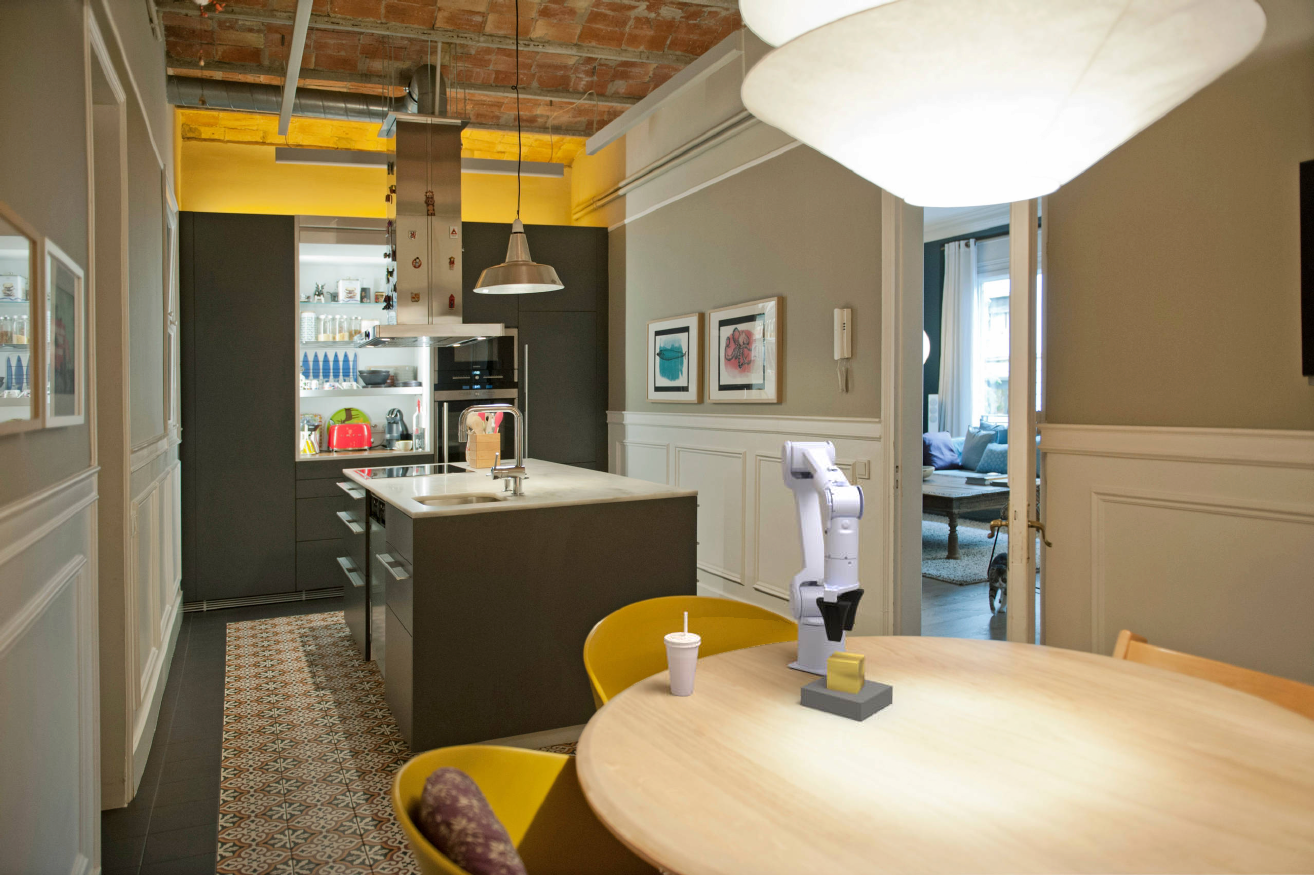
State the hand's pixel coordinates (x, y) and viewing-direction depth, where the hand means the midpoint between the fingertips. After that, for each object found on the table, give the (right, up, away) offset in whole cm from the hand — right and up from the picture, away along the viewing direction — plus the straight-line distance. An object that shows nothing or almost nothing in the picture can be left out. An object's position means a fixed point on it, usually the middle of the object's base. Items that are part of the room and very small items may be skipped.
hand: (840, 635), depth 143 cm
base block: (0, -11, -4) cm, 12 cm away
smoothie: (-27, -10, +2) cm, 29 cm away
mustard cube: (0, -8, -4) cm, 9 cm away
